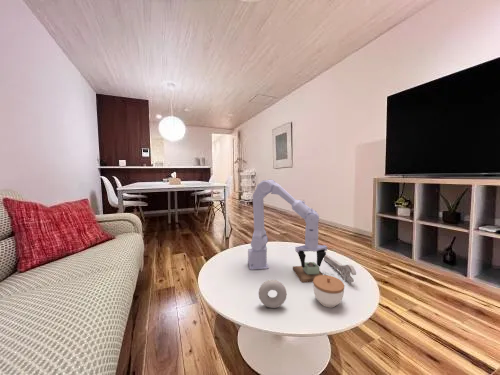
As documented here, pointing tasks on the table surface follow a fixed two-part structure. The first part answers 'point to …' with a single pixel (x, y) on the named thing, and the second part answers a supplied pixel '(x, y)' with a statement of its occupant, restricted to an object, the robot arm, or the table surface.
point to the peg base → (303, 275)
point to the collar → (311, 268)
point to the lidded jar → (328, 290)
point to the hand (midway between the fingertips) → (310, 266)
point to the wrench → (342, 268)
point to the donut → (272, 301)
